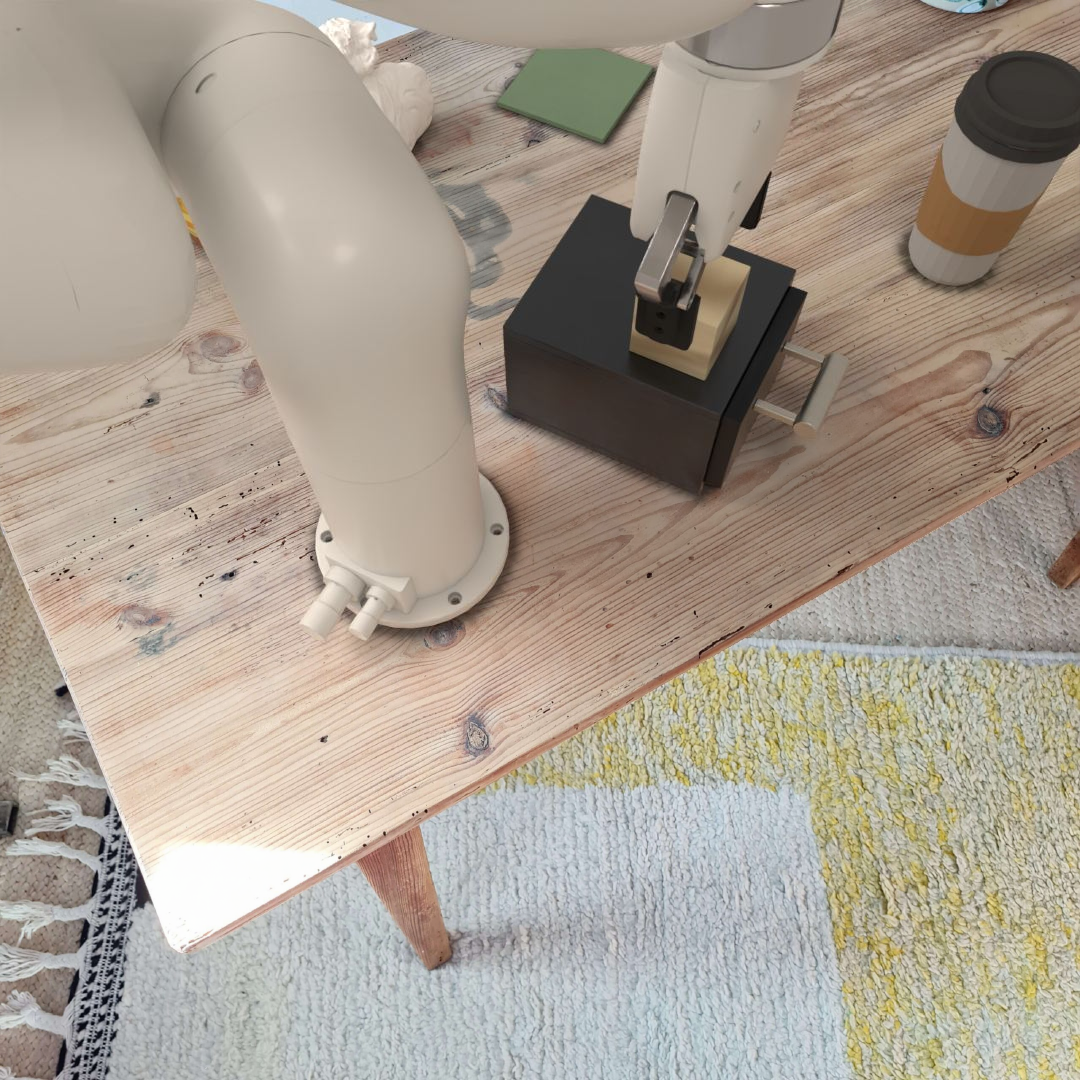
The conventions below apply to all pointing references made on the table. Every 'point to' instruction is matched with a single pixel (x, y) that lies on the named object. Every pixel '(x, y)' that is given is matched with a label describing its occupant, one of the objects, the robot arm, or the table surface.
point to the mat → (576, 89)
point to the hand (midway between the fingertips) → (698, 276)
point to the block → (701, 317)
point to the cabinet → (624, 353)
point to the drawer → (761, 380)
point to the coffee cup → (995, 162)
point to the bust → (385, 78)
